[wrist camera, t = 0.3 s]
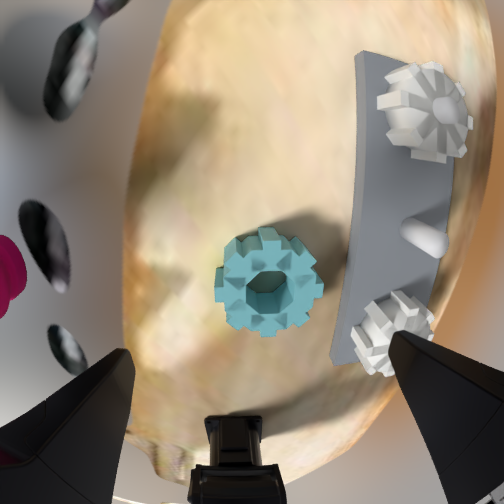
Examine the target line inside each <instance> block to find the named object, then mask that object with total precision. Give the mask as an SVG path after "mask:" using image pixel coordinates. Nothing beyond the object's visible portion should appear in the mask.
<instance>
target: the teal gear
mask: <svg viewBox="0 0 504 504" xmlns="http://www.w3.org/2000/svg"><path fill="white" fill-rule="evenodd" d="M316 262H317V261H316V260H315V258H314V257H313V256H312V254H311V253H310V252H309V250H308V249H307V248H306V246H305V245H304V244H303V243H302V242H301V241H300V240H299V239H298V238H297V237H296V236H295V237H294V238H293V239H292V240H291V241H290V242H289V241H288V240H287V239H286V238H285V237H284V236H283V235H278V234H277V232H276V230H275V228H274V227H258V236H248V237H247V238H246V239H244V240H243V241H242V242H240V241H239V240H238V239H237V238H236V237H235V238H234V239H233V240H232V241H231V242H230V243H229V244H228V245H227V246H226V247H225V250H224V268H216V276H215V286H214V290H215V302H224V304H225V311H226V322H227V323H228V324H230V325H231V326H232V327H234V328H235V329H236V330H240V329H241V328H242V327H243V326H245V327H246V328H248V329H249V330H250V331H260V335H261V337H273V336H276V330H281V329H287V328H288V327H289V326H291V325H292V324H293V323H294V324H295V325H296V326H297V327H300V326H301V325H302V324H304V323H305V322H306V321H307V320H308V319H310V316H309V314H308V312H307V311H308V310H310V309H311V308H312V307H313V300H314V298H322V294H323V287H324V283H323V281H322V280H321V278H320V277H319V275H318V274H317V272H316V271H315V270H314V268H313V267H312V266H313V265H314V264H315V263H316ZM261 271H282V272H284V273H285V274H286V280H285V282H284V283H283V284H282V285H281V286H279V287H278V288H277V289H276V290H275V291H274V292H268V293H255V292H254V291H253V290H252V289H251V288H249V287H248V286H247V284H248V283H249V282H250V281H251V280H252V279H253V278H254V277H255V276H256V275H257V274H259V273H260V272H261Z"/></svg>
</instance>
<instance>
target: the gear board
mask: <svg viewBox="0 0 504 504" xmlns="http://www.w3.org/2000/svg"><path fill="white" fill-rule="evenodd" d="M355 70H356V94H357V145H356V170H355V186H354V200H353V211H352V222H351V231H350V240H349V248H348V256H347V263H346V270H345V277H344V283H343V289H342V295H341V301H340V306H339V312H338V317H337V322H336V327H335V332H334V337H333V341H332V346H331V350H330V355H329V356H330V358H331V361H332V363H333V365H334V366H337V365H344V364H350V363H356V362H361V363H362V365H363V367H364V368H365V370H366V372H368V373H369V374H370V375H372V374H374V373H375V372H376V371H379V372H382V373H383V375H384V376H385V377H388V376H392V375H394V374H395V372H394V369H393V367H392V364H391V361H390V359H389V356H388V348H389V345H390V342H391V339H392V335H393V333H394V332H396V331H400V330H406V331H408V332H411V333H413V334H415V335H418V336H420V337H422V338H424V339H427V340H429V341H432V338H433V336H434V333H433V332H432V331H431V330H430V323H431V322H432V321H433V320H434V319H435V318H434V316H433V314H432V313H431V312H430V311H429V310H428V309H427V305H428V302H429V299H430V295H431V292H432V288H433V285H434V281H435V277H436V274H437V270H438V266H439V261H440V258H441V257H442V256H443V255H444V254H445V253H446V251H447V249H448V246H449V238H448V235H447V234H446V227H447V221H448V215H449V208H450V200H451V192H452V182H453V169H454V157H459V158H462V157H463V155H464V154H465V153H466V151H467V148H466V146H465V144H464V142H465V140H466V137H467V132H468V130H473V117H471V116H469V115H468V113H467V108H466V105H465V102H464V99H463V96H464V95H465V94H466V93H465V91H464V89H463V87H462V86H461V84H460V82H455V83H454V82H453V81H452V80H451V79H450V78H449V77H448V76H446V75H445V74H444V71H443V66H442V65H440V64H438V63H436V62H434V61H431V62H428V63H425V64H422V65H417V64H416V63H415V62H414V63H411V64H407V63H404V62H401V61H398V60H395V59H392V58H389V57H385V56H382V55H379V54H375V53H372V52H368V51H364V50H363V51H361V52H360V53H358V54H357V55H355Z"/></svg>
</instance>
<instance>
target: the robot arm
mask: <svg viewBox="0 0 504 504" xmlns="http://www.w3.org/2000/svg"><path fill="white" fill-rule="evenodd" d="M388 356H389V359H390V361H391V364H392V367H393V369H394V372H395V375H396V377H397V380H398V383H399V386H400V388H401V390H402V393H403V395H404V397H405V399H406V401H407V403H408V405H409V407H410V409H411V412H412V414H413V416H414V418H415V420H416V423H417V425H418V427H419V429H420V432H421V434H422V436H423V438H424V441H425V443H426V446H427V448H428V450H429V452H430V455H431V457H432V460H433V463H434V465H435V468H436V470H437V473H438V475H439V479H440V481H441V484H442V487H443V489H444V492H445V495H446V498H447V501H448V504H475V503H477V502H478V501H479V500H481V499H483V498H484V497H485V496H487V495H488V494H489V495H490V497H491V499H490V500H489V501H488V502H487V503H485V504H504V372H502V371H499V370H497V369H494V368H492V367H489V366H487V365H485V364H482V363H479V362H478V361H475V360H473V359H471V358H468V357H466V356H464V355H461V354H459V353H456V352H454V351H452V350H450V349H447V348H445V347H443V346H440V345H438V344H436V343H433V342H431V341H429V340H427V339H424V338H422V337H420V336H418V335H415V334H413V333H411V332H408V331H406V330H400V331H396V332H394V333H393V335H392V339H391V342H390V345H389V348H388ZM135 372H136V371H135V366H134V363H133V360H132V357H131V354H130V351H129V350H128V349H123V348H116V349H115V350H113V351H112V352H111V353H109V354H108V355H106V356H105V357H104V358H102V359H101V360H99V361H98V362H97V363H95V364H94V365H93V366H91V367H90V368H88V369H87V370H86V371H84V372H83V373H81V374H80V375H79V376H77V377H76V378H74V379H73V380H72V381H70V382H69V383H67V384H66V385H65V386H63V387H62V388H60V389H59V390H58V391H56V392H55V393H54V394H52V395H51V396H49V397H48V398H46V401H45V400H44V401H42V402H41V403H39V404H38V405H37V406H35V407H34V408H32V409H31V410H29V411H28V412H26V413H25V414H23V415H21V416H20V417H18V418H16V419H15V420H13V421H11V422H9V423H8V424H6V425H4V426H2V427H1V428H0V504H111V503H112V497H113V490H114V484H115V479H116V474H117V468H118V463H119V458H120V453H121V449H122V444H123V440H124V435H125V431H126V427H127V422H128V419H129V414H130V409H131V402H132V394H133V387H134V380H135ZM204 423H205V427H206V431H207V436H208V440H209V444H210V466H205V465H200V464H196V468H195V469H192V470H191V480H190V487H189V492H188V497H187V498H188V499H187V500H188V502H189V503H191V504H287V499H286V491H285V487H284V484H283V481H282V477H281V474H280V470H279V467H278V464H272V465H262V459H261V451H260V443H261V433H262V417H260V416H253V417H223V418H209V417H208V418H205V420H204Z"/></svg>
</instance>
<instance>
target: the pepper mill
mask: <svg viewBox="0 0 504 504" xmlns="http://www.w3.org/2000/svg"><path fill="white" fill-rule="evenodd" d="M26 282H27V271H26V266H25V262H24V259H23V257H22V254H21V252H20V251H19V249H18V247H17V246H16V245H15V243H14V242H13V241H12V240H11V239H9V238H8V237H6V236H4V235H0V319H1V318H2V317H3V316H4V315H5V313H6V312H7V309H8V306H9V302H10V300H13V299H14V298H16V297H17V296H18V295H19V294H20V293H21V292H22V291H23V290H24V289H25V286H26Z"/></svg>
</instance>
